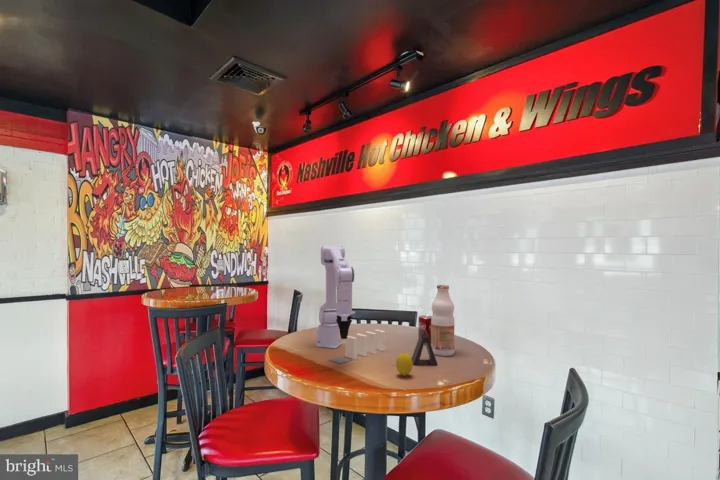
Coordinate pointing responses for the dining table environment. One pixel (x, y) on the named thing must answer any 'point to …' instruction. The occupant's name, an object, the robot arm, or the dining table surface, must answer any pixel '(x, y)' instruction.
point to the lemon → (404, 363)
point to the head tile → (380, 340)
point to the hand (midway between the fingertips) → (343, 336)
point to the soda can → (424, 325)
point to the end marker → (340, 360)
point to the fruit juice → (442, 323)
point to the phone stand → (418, 351)
